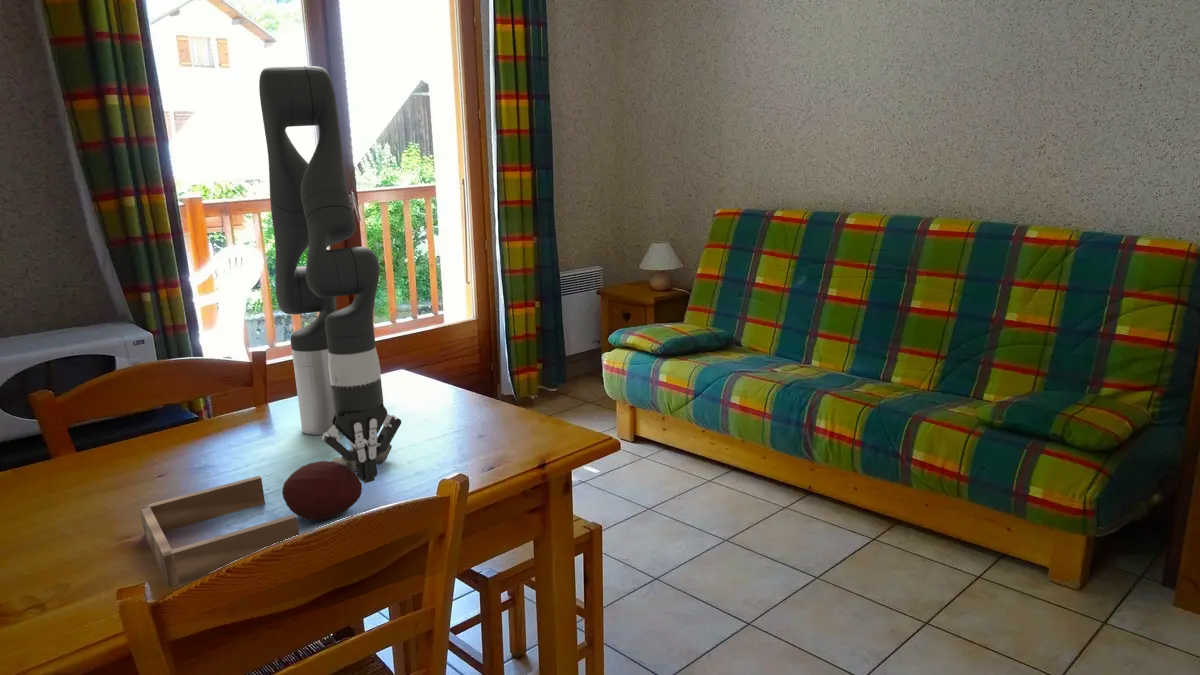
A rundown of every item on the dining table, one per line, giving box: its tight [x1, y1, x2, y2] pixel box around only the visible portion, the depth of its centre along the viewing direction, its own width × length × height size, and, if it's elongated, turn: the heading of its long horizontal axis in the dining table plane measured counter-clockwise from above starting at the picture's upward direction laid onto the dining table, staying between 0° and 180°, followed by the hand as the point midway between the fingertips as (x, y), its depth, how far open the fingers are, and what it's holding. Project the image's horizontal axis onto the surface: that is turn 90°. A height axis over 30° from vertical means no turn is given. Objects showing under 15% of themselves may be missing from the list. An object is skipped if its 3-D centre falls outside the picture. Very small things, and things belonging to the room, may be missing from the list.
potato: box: [281, 460, 363, 521], centre depth 126 cm, size 12×11×8 cm
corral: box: [139, 475, 300, 588], centre depth 119 cm, size 19×17×4 cm
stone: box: [331, 443, 392, 472], centre depth 145 cm, size 10×5×8 cm
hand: (367, 480), depth 130 cm, fingers closed
